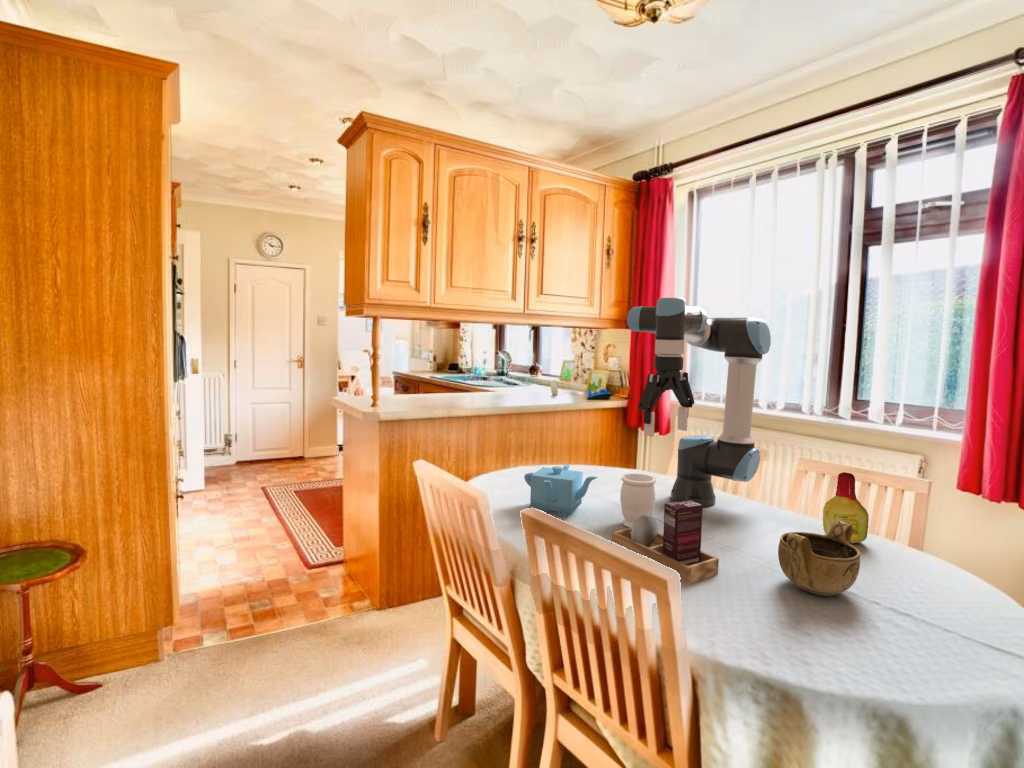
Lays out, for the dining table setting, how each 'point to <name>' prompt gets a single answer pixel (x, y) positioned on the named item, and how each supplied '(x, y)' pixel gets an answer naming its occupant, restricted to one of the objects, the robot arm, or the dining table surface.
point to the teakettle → (557, 489)
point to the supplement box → (683, 531)
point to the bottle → (846, 509)
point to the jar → (636, 497)
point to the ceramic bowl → (820, 559)
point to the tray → (651, 545)
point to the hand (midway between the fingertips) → (666, 432)
